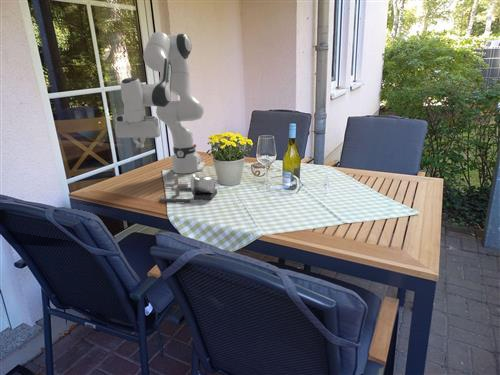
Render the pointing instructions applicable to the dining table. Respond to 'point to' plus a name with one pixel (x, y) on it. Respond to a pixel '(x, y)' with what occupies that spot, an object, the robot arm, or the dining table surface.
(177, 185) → the pipe connector
